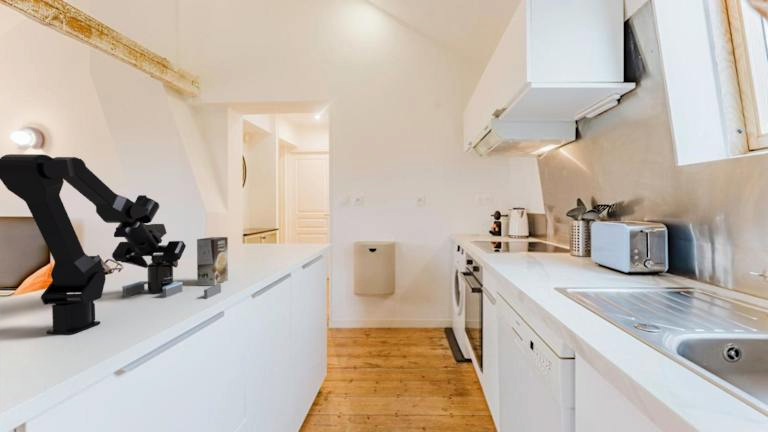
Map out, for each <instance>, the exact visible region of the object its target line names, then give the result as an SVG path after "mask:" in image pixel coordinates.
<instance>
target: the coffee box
mask: <svg viewBox="0 0 768 432" xmlns="http://www.w3.org/2000/svg"><path fill="white" fill-rule="evenodd" d="M228 240H229V239H228V237H227V236H215V237H214V236H211V237H204V238H197V239H196V256H197V257H196V267H197V269H196V270H197V271H196V272H197V274H196V275H197V276H196V277H197V279H196V280H197V286H212V287H213V286H215V285H217V284H221V283H224V282H226V281H228V280H229V266H228V265H229V255H228V254H229V252H228V251H229V248H228V247H229V246H228V245H229V242H228Z"/></svg>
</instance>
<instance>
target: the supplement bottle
mask: <svg viewBox="0 0 768 432" xmlns="http://www.w3.org/2000/svg"><path fill="white" fill-rule="evenodd" d="M150 258H151V259H150V261H151V263H149V264H148V267H147V281H148V284H147V292H148V294H152V295H153V294H156V295H157V294H163V289H162V287H165V286H168V285H170V283H173V282H174V267H173V266H172V265H170V264H169V263H167V262H166V260H165V259H164V258H163V253H154V254H153V256H150Z"/></svg>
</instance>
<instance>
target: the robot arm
mask: <svg viewBox="0 0 768 432" xmlns="http://www.w3.org/2000/svg"><path fill="white" fill-rule="evenodd" d="M0 181H1V182H2V184H3V185H4V187H5V188H6V189H7V190H8V191H10V193H12V194H14V195H16V196H17V197H18V198H20V199H21V200H22V201H24V202H25V204H26V205H27V208H28V209H29V211H30V214H31V216H32V217H33V220H34V222H35V223H36V226H37V228H38V230H39V233H40V234H41V236H42V238H43V240H44V242H45V244H46V246H47V249H48V250H49V253H50V254H51V256H52V258H53V261H54V265H53V267H52V269H51V271H50V276H51V279H52V281H51V282H50V284H49V285H48V286H47V288H46V289H45V290H44V291H43V293H42V294H41V296H40V299H41V301H42V303H43V305H51V308H52V309H51V311H52V312H51V313H52V314H51V315H52V328H50V329H48V330H46V334H61V335H62V334H63V335H64V334H65V335H71V334H78V333H79V332H82V331H84V330H87V329H89V328H92V327H95V326H97V325H100V324H101V321H99V320H96V304H95V301H96V300H99V299H101V298H102V296H103V291H104V288H105V283H106V273H105V271H106V268H105V267H104V266H103V264H102V260H101V257H100V256H98V255H88V254H86V252H85V251H84V249H83V246H82V244H81V242H80V240H79V237H78V235H77V233H76V230H75V228H74V226H73V223H72V221H71V219H70V216H69V214H68V211H67V209H66V207H65V205H64V203H63V201H62V199H61V195H60V194H61V191H62V188H63V186H64V181H65V182H66V183H67V184H69V185H70V186H71V187H72V188H74V189H75V190H76V191H77V192H79V194H81V196H83V197H85V198H86V199H87V200H88V201H90V202H91V203H92V204H93V205H94V207H95V213H96V214H97V215H98V216H99V217H100V218H101V220H102V221H104V222H105V223H107V224H118V225H117V227H115V231H114V232H113V237H114V238H124V239H125V240H126V241H120V242H118V244H117V246H116V247H115V248H114V250H113V252H112V253H111V257H112V259H113V260H114V261H115V262H120V263H123V264H128V265H132V266H137V267H141V268H144V269H148V265H149V264H148V262H147V261H146V260H145V258H144V257H151V256H153V254H163V258H164V259H165V260H166V262H167V263H169V264H170V265H172V266H173V268H178V265H179V260H181V257H182V256H183V253H184V251H185V249H186V246H187V244H186V243H185V242H184V240H171V241H170V240H169V241H168V242H167V244H166V245H165V244H164V245H163V244H161V243H162V242H163V239H162V238H163V237H164V236H166V235H167V230H166V227H165V223H151V222H152V221H153V219H154V217H155V216H156V214H157V212H158V211H159V209H160V204H159V202H158V201H156V200H155V199H152V198H150V197H148V196H147V195H144V194H143V195H141V194H140V195H138V196H137V197H136V199H135V201H132V200H131V199H130V198H128V197H125V196H123V195H119V194H117V193H115V192H114V191H113V190H112V189H111V188H110V187H109V186H108V185H107V184H105V182H104V181H102V180H101V178H99V177H98V176H97V175H96V174H95V173H93V171H92V170H90V168H88V166H86V163H85V161H84V160H83V159H82V158H79V157H76V156H75V157H74V156H56V157H52V156H50V155H47V154H41V153H40V154H35V153H33V154H32V153H31V154H29V153H28V154H22V153H21V154H19V153H17V154H11V153H10V154H5V155H2V156H1V157H0ZM159 244H161V245H159Z"/></svg>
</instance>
